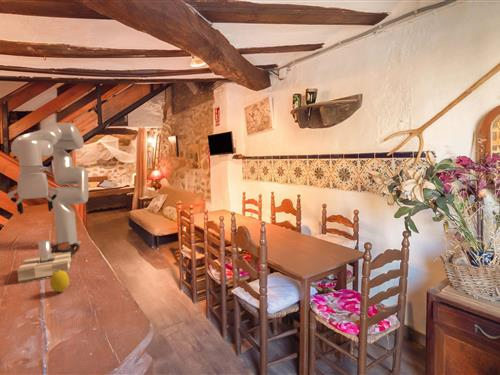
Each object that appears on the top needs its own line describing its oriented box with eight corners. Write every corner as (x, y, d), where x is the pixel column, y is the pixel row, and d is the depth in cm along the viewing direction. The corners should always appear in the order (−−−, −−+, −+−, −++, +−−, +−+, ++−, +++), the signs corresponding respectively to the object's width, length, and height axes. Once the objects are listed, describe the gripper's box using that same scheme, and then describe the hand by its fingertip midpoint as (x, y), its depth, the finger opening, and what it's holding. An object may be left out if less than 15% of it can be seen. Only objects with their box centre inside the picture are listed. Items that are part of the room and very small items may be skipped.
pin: (41, 269, 123) (38, 240, 122) (53, 267, 125) (50, 239, 124) (40, 272, 120) (37, 243, 118) (52, 270, 122) (49, 241, 120)
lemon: (66, 287, 107) (64, 265, 107) (72, 291, 104) (70, 269, 103) (48, 293, 103) (46, 270, 102) (54, 297, 100) (52, 274, 99)
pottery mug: (51, 263, 135) (46, 246, 137) (57, 265, 143) (53, 250, 145) (80, 252, 139) (75, 236, 141) (85, 255, 148) (80, 240, 150)
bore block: (27, 269, 126) (26, 258, 126) (71, 262, 133) (70, 251, 133) (18, 283, 112) (17, 270, 111) (68, 274, 119) (67, 262, 119)
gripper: (57, 168, 128) (61, 208, 130) (6, 170, 120) (11, 212, 122) (56, 169, 121) (60, 211, 123) (2, 171, 113) (7, 216, 115)
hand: (36, 212), depth 122 cm, fingers open, 9 cm apart
